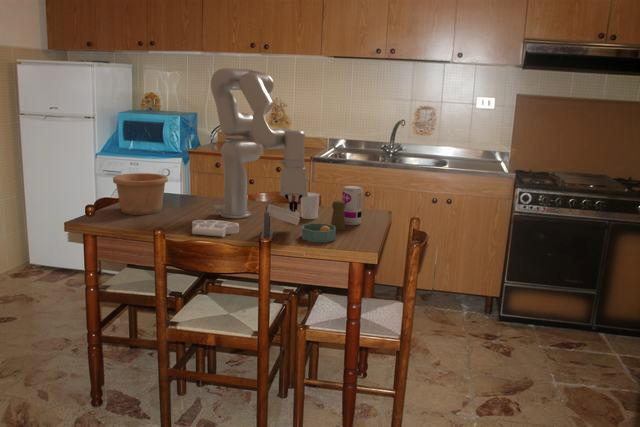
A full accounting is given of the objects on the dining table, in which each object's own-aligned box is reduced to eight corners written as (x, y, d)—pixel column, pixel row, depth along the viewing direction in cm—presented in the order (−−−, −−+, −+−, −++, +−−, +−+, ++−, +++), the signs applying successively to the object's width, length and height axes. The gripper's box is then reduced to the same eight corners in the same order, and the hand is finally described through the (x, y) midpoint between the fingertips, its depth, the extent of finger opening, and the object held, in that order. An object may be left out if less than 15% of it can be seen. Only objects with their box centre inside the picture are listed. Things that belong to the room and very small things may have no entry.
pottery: (174, 206, 259) (173, 174, 256) (159, 217, 238) (158, 182, 234) (125, 204, 260) (124, 172, 256) (106, 215, 238) (104, 180, 235)
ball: (333, 233, 214) (323, 239, 215) (332, 231, 218) (323, 236, 218) (326, 225, 213) (317, 231, 214) (326, 222, 217) (317, 228, 218)
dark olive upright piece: (329, 226, 234) (330, 199, 231) (344, 226, 235) (345, 199, 232) (330, 230, 228) (332, 202, 226) (346, 230, 229) (347, 202, 226)
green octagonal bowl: (302, 241, 210) (302, 231, 209) (302, 233, 222) (302, 222, 221) (336, 242, 211) (336, 231, 210) (334, 233, 223) (334, 223, 222)
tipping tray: (265, 214, 210) (268, 208, 209) (268, 204, 227) (270, 198, 227) (297, 225, 211) (299, 218, 210) (298, 214, 228) (300, 208, 228)
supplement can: (347, 226, 235) (349, 189, 232) (337, 221, 242) (339, 185, 239) (364, 224, 239) (366, 188, 235) (354, 220, 246) (356, 184, 242)
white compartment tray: (183, 235, 214) (198, 226, 228) (231, 239, 211) (243, 229, 225) (183, 226, 213) (198, 217, 227) (231, 230, 211) (243, 221, 225)
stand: (260, 241, 209) (260, 214, 207) (262, 231, 222) (263, 205, 220) (271, 241, 209) (271, 214, 207) (273, 231, 223) (273, 205, 220)
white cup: (316, 220, 243) (317, 196, 241) (298, 218, 244) (298, 195, 242) (320, 216, 250) (321, 193, 248) (302, 214, 252) (303, 191, 250)
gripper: (273, 164, 216) (273, 213, 220) (314, 165, 217) (313, 214, 221) (274, 161, 224) (274, 208, 228) (314, 163, 224) (312, 209, 228)
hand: (293, 211), depth 224 cm, fingers closed
